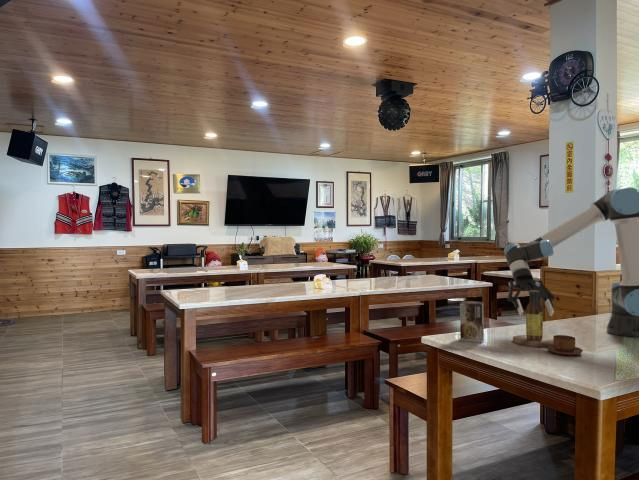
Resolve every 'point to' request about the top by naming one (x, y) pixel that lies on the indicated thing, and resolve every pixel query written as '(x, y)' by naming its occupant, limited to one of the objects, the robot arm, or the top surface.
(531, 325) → the sauce bottle
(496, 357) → the top surface
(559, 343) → the cup and saucer
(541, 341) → the coaster pad
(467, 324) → the coffee box
